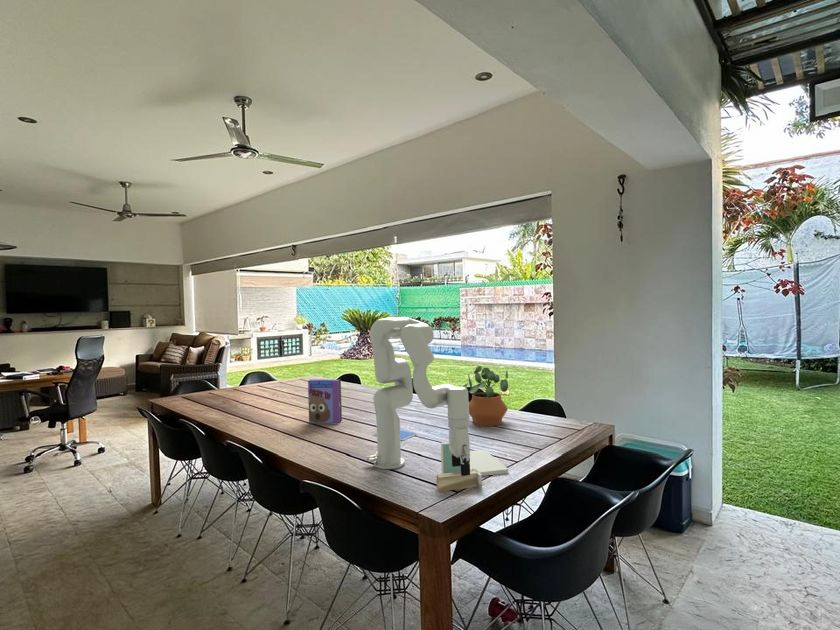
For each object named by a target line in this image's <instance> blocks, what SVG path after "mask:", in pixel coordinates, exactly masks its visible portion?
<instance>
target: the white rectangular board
mask: <svg viewBox="0 0 840 630" xmlns="http://www.w3.org/2000/svg"><path fill="white" fill-rule="evenodd" d="M472 468H475V469H476V470H477V471H478V472H479V473H480V474H481V475H482V477H484V476H492V475H494V476H495V475H503V474H508V473H509V468H508V467H507V466H505V465H504V464H503V463H502V462H501V461H499V460H498V459H497V458H496V457H494V456H493V455H492V454H491V453H489V452H488V451H487V450H486V449H484V448H483V449H477V450H476V449H474V450H470V470H472Z"/></svg>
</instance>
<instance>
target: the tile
mask: <svg viewBox="0 0 840 630" xmlns="http://www.w3.org/2000/svg"><path fill="white" fill-rule="evenodd" d="M440 454H441V455H440V461H441V474H444V473H452V472H461V466H456V467H453V466H452V454H451V452H450V450H449V441H446V442H445V441H444V442H442V441H441V442H440ZM461 455H465V454H461ZM464 458H465V457H464ZM464 458H463V460H464ZM461 464H462V463H461Z"/></svg>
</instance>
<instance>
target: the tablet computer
mask: <svg viewBox="0 0 840 630" xmlns="http://www.w3.org/2000/svg"><path fill="white" fill-rule="evenodd" d="M373 434H374V435H373V436H375V435H377V432H375V433H373ZM415 435H416V436H418V433H417V432H413V431H407V430H402V429H400V441H401V440H402V441H401V442H403V440H404V441H406V439H407V440H409V439H411V438H413V436H414V437H416V436H415ZM410 437H411V438H410ZM408 438H409V439H408Z"/></svg>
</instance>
